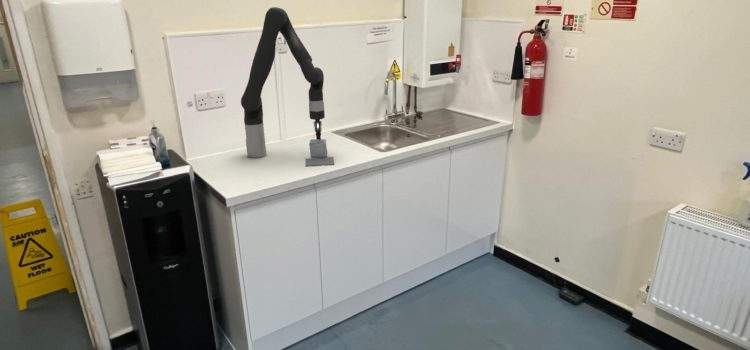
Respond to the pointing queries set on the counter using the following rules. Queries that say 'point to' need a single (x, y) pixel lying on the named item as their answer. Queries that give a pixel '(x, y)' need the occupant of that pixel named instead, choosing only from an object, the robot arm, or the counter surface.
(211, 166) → the counter surface
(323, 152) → the medicine box
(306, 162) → the mat
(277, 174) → the counter surface
